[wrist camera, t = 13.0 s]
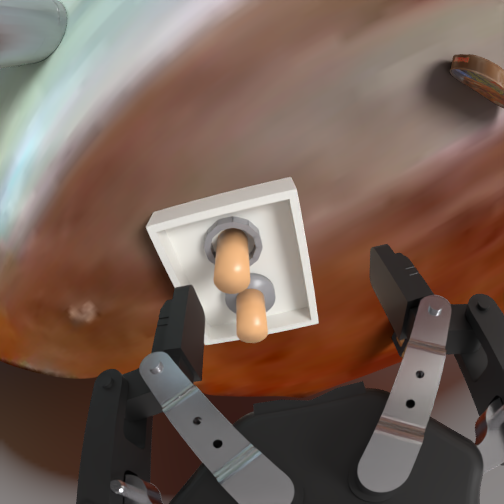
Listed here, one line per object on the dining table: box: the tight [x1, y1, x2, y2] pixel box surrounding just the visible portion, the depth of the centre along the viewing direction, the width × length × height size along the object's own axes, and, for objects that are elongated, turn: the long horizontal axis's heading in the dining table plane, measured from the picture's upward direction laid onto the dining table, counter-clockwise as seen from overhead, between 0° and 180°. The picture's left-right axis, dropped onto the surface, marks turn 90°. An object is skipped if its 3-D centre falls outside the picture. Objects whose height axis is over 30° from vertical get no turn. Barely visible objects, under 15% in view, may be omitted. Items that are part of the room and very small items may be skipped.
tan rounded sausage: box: [214, 228, 250, 294], centre depth 36 cm, size 4×4×8 cm
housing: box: [146, 177, 319, 345], centre depth 39 cm, size 18×22×9 cm
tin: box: [450, 54, 504, 108], centre depth 24 cm, size 15×3×8 cm, turn 80°
